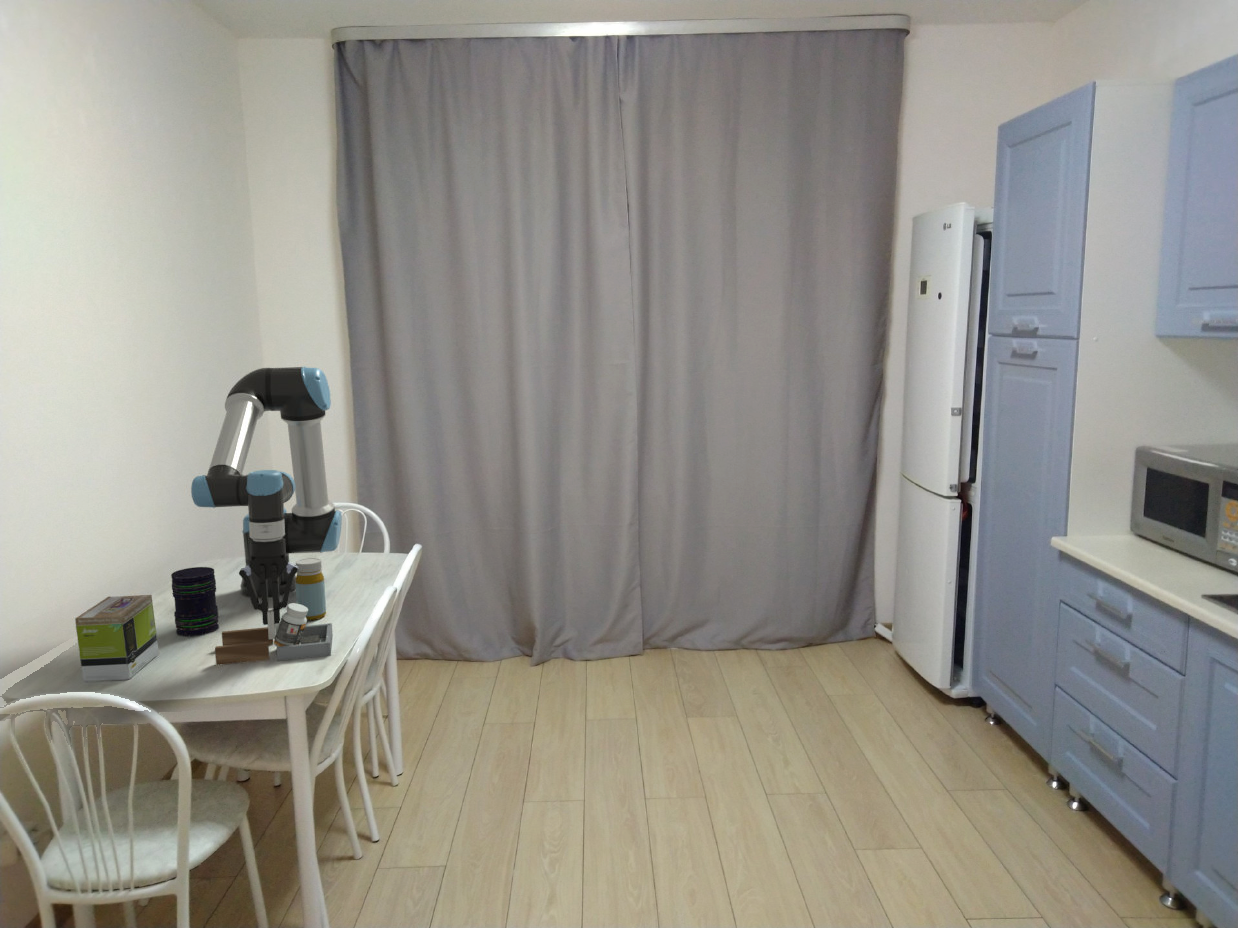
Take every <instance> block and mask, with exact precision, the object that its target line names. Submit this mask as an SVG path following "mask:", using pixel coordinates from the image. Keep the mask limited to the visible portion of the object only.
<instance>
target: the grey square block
mask: <svg viewBox="0 0 1238 928" xmlns="http://www.w3.org/2000/svg"><path fill="white" fill-rule="evenodd" d="M320 638H321V637H320ZM320 638H319V635H316V636H306V637H302V638H301V641H300V644H308V643H318V642H321V641H320Z"/></svg>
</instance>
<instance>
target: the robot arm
mask: <svg viewBox="0 0 1238 928" xmlns="http://www.w3.org/2000/svg"><path fill="white" fill-rule="evenodd" d="M329 386H330V385H329V383H328V380H327V376H326V374H325V373H324V372H323V370H322V369H320V368H318V367H306V366H297V367H296V366H295V367H294V366H293V367H262V368H257V369H254V370H251V371H250V372H248V373H247V374H245V375H244V376H243V377H241V378H240V379H239V380H238V381H237V382H236V383H235V384H234V385H233V386H232V387H231V389H230V391H229V392H228V394H227V396H226V399H225V402H224V409H225V411H226V412H225V417H224V420H223V423H222V426H221V430H220V432H219V436H218V438H217V443H216V445H215V448H214V452H213V454H212V457H211V461H210V465H209V469H208V471H207V474H206V475H205V474H202V475H198V476H195V477H194V478H193V480H192V481H191V487H190V489H191V490H190V491H191V498H192V501H193V503H194V505H195V506H196V507H199V508H212V509H214V508H229V507H248V508H247V509H248V514H245V516H244V517H243V518H242V519H243V520H242V531H241V532H242V534H243V535H242V536H243V547H244V559H245V560H244V561H245V567H242V568H240V570H239V572H238V574H239V576H240V578H241V583H240V593H241V594H242V595H243V596H245V597H249V598H250V602H251V605H252V608H253V610H255V611H257V610H258V611H261V613H262V614H261V615H262V624H263V626H266V625H267V627H268V636H269V639H273V640H274V639H275V636H276V633H277V630H276V625H279V624H280V621H281V611H280V610H282V609H284V608H287V607H288V605H289V598H290V594H291V592H292V591H296V583H295V582H296V580H295V579H296V576H297V571H298V565H296V564H293V563H291V562H290V555H289V554H309V553H310V554H311V553H312V554H313V553H319V554H321V553H327V552H334V551H335V550H336V549H337V548H338V547H339V544H340V539H341V533H342V523H343V522H342V520H343V519H342V518H343V517H342V512H341V511H339V510H336V508H335V503H333V502H332V501H330V500H329V497H328V495H329V494H328V485H327V477H326V476H327V475H326V465H325V464H326V463H325V454H324V444H323V434H322V424H321V421H322V420H323V419H324V418H325V416H326V411H328V410H329V409H330V408H331V404H332V399H331V390H330V387H329ZM269 411H272V412H279V414H280V419H281V420H282V421H283V422H284V423H286V425H287V430H288V439H289V441H288V442H289V448H290V450H289V451H290V455H291V466H292V475H293V477H292V476H291V474H289V473H288V472H285V471H281V470H275V469H274V470H273V469H261V470H254V471H250V472H248V474H243V472H244V468H245V465H246V462H247V458H248V454H249V450H250V447H251V444H252V443H251V442H252V440H253V437H254V432H255V429H256V426H257V422H258V420H260V419H261V418H262V417H263V415H264V413H265V412H269ZM294 494H295V501H296V502H295V504H294V505H293V507H291V512H287V509H286V508H285V507H284V504H285V503H287V502H289V501H290V500H291V498H292V497H293V495H294ZM280 595H282V600H281V601H280ZM269 597H272V608H269V606H270V605H269ZM259 598H260V599H261V602H260V599H259Z"/></svg>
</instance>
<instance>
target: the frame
mask: <svg viewBox="0 0 1238 928" xmlns="http://www.w3.org/2000/svg"><path fill="white" fill-rule="evenodd" d="M316 635H319V638H325V641H320V642H318V643H308V644H299V645H289V646H279V647H276V654H277V655H276V657H277V661H278V662H279V661H280V662H281V661H288V660H289V661H290V660H298V659H299V660H300V659H306V658H307V659H308V658H316V657H317V658H318V657H325V656H326V657H327V656H332V647H333V636H334V635H333V623H332V622H329V623H320V624H311V625H306V626H305V629H304V632H303V635H302V637H306V636H316Z"/></svg>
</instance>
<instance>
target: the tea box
mask: <svg viewBox="0 0 1238 928" xmlns="http://www.w3.org/2000/svg"><path fill="white" fill-rule="evenodd" d="M155 619H156V618H155V611H154V603H153V595H152V594H144V595H143V594H142V595H124V596H122V595H120V596H107V597H105V598H103V600H101V601H100V602H97V604H95V605H94V606H92V607H90V608H88V610H86V611H83V613H81V614H80V615H78V616H77V617H75V630H76V636H77V645H78V651H79V659H80V666H81V669H80V670H81V676H82V681H83V682H85V683H86V682H109V681H111V682H112V681H125V680H131V678H132V677H133V676H135V675H136V674H138V672H139V671H141V669H143V668H144V667H145V666H146V665H148V664H149V663H150V662H151V661H152V660H153V659H154V658H156V657H157V656H158V655H159V645H158V644H159V643H158V638H157V628H156V620H155Z"/></svg>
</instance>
